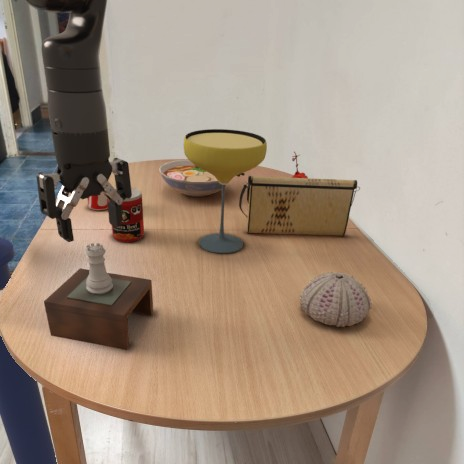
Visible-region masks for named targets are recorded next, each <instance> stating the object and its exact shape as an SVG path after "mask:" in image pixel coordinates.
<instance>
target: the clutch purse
mask: <svg viewBox="0 0 464 464" xmlns="http://www.w3.org/2000/svg"><path fill="white" fill-rule="evenodd" d="M247 179H248V180H247V181H245V183H244V184H243V187H242V189H241V191H240V195H239V200H238V207H239V210H240V211H241V213H242V214H243V215H244V216H245V217H246V218H247V220H246V233H247V234H250V233H251V234H252V233H253V234H279V235H281V234H282V235H311V236H312V235H314V236H341V237H345V234H346V232H347V228H348V223H349V218H350V214H351V208H352V206H353V203H354V200H355V196H356V193H357V192H359V191H360V190H361V187H360V186H358V180H357V179H333V178H311V177H308V178H292V177H285V176H282V177H281V176H260V175H259V176H257V175H248V177H247ZM245 192H246V202H247V204H248V205H247V207H248V208H247V214H246V213H245V212H244V210H243V209H242V202H243V197H244V194H245Z"/></svg>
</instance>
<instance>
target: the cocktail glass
mask: <svg viewBox="0 0 464 464" xmlns="http://www.w3.org/2000/svg"><path fill="white" fill-rule="evenodd" d="M267 143H268V142H267V140H266V139H265V138H264V137H263V136H262V135H259V134H258V133H257V134H256V133H253V132H249V131H244V130H236V129H227V128H225V129H223V128H221V129H220V128H213V129H209V128H207V129H199V130H198V129H197V130H194V131H190V132H188V133H186V134H185V136H184V138H183V152H184V156H185V157H186V158H187V159H188V160H189V161H190V162H192V163H193V164H194V165H196V166H197V167H199V168H201V169H203V170H205V171H207V172H209V173H210V174H212V175H214V176H215V178H216V179H217V181H218V182H219V183H220V184H221V185H222V190H221V207H220V208H221V209H220V223H219V225H220V226H219V231H218V232H219V233H211V234H207V235H205V236H203V237H201V238H200V240H199V241H198V243H199V247H200V248H202V249H203V250H205V251H207V252H210V253H213V254H223V255H225V254H231V253H237V252H238V251H240V250H241V249H243V247H244V242H243V240H242V239H241V238H239V237H238V236H235V235H231V234H226V233H225V229H224V228H225V227H224V226H225V225H224V224H225V222H224V221H225V220H224V219H225V195H226V194H225V193H226V186H227V185H228V184H229V183H230V182H231V181H232V180H233V179H234V178H235V177H237V176H236V175H239V174H241V173H246V172H250V171H251V170H253V169H255V168H256V167H258V166H259V165H260V164H262V163H263V161H265V159H266V155H267V151H268V150H267V148H268V145H267ZM225 185H226V186H225Z"/></svg>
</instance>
